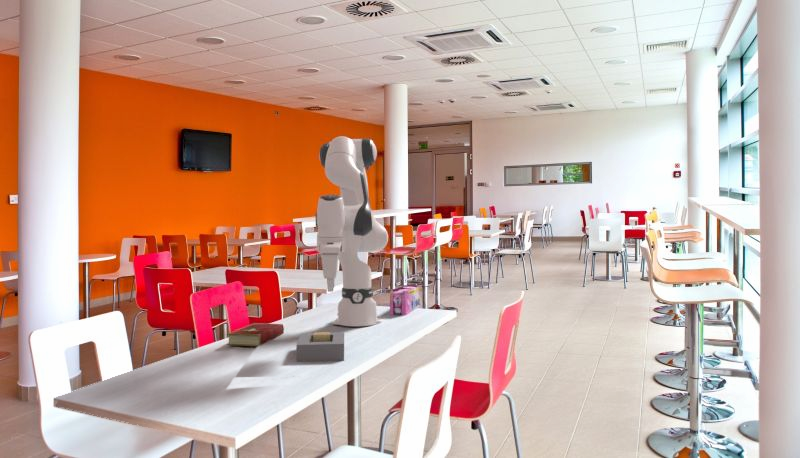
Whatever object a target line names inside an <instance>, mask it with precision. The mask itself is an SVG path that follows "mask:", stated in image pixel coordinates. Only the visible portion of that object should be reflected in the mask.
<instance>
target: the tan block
mask: <svg viewBox="0 0 800 458" xmlns="http://www.w3.org/2000/svg"><path fill="white" fill-rule="evenodd" d="M313 333H314V335H313V342H330V333H331V332H330V331H321V332H319V331H316V332H313Z"/></svg>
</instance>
